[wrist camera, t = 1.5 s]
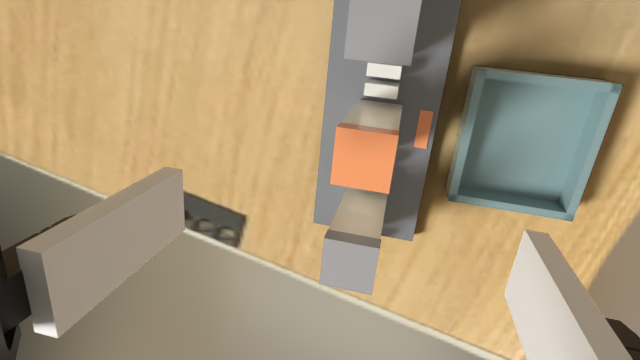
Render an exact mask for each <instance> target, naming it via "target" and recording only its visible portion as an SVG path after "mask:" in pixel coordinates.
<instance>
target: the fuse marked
mask: <svg viewBox="0 0 640 360" xmlns="http://www.w3.org/2000/svg"><path fill="white" fill-rule="evenodd" d="M402 106H403V105H400V104H392V103H384V102H377V101H369V100H361V99H360V100H359V101H358V102H357V103H356V105H355V106H354V107H353V108H352V110H351V111H350V112H349V113H348V115H347V116H346V117H345V118H344V120H343V121H342V122H340V123H339V124H338V125H337V126H336V134H335V143H334V152H333V161H332V171H331V180H330V184H333V185H339V186H345V187H350V188H356V189H362V190H368V191H374V192H380V193H386V194H389V191H390V185H391V179H392V173H393V167H394V161H395V155H396V150H397V144H398V138H399V125H400V119H401V113H402Z"/></svg>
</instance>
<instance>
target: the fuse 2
mask: <svg viewBox="0 0 640 360" xmlns="http://www.w3.org/2000/svg"><path fill="white" fill-rule="evenodd" d="M387 195H388V194H386V193H380V192H374V191H368V190H362V189H356V188H350V187H347V189H346V191H345V193H344V196H343V198H342V200H341V203H340V205H339V207H338V210H337V212H336V214H335V217H334V219H333V221H332V224H331V226H330V228H329V229H328V231H327V233H326V235H325V237H324V245H323V254H322V263H321V272H320V282H319V284H322V285H326V286H331V287H336V288H340V289H345V290H350V291H354V292H359V293H364V294H368V295H372V291H373V285H374V279H375V273H376V267H377V261H378V255H379V249H380V243H381V239H380V238H381V232H382V226H383V220H384V214H385V208H386V201H387Z"/></svg>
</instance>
